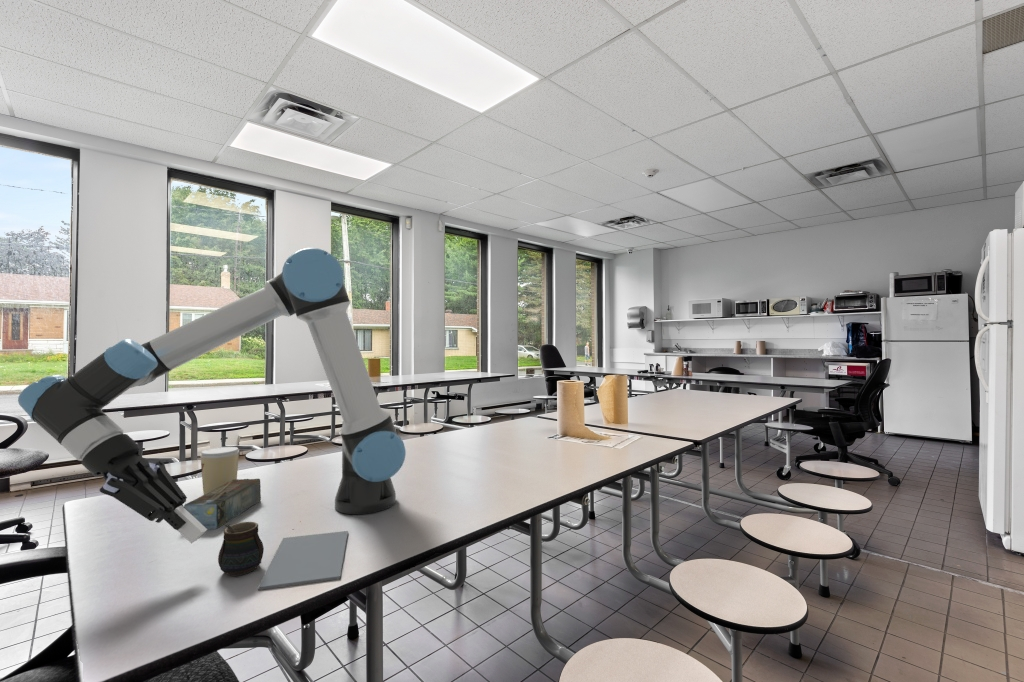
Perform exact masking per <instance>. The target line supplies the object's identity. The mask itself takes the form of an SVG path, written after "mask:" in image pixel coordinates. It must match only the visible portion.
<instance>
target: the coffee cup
mask: <svg viewBox="0 0 1024 682" xmlns="http://www.w3.org/2000/svg"><path fill="white" fill-rule="evenodd" d="M239 454H240V449H239V448H238V447H237V446H220V447H219V446H218V447H213V448H207V449H204V450H201V452H200V454H199V455H200V456H199V458H200V469H201V480H202V481H201V482H202V490H203V491H202V492H203V495H205V494H207V493H209V492H211V491H213V490H214V489H216V488H218V487H220V486H222V485H224V484H226V483H227V482H229V481H231V480H233V479H238V472H239V471H238V468H239V456H240V455H239Z"/></svg>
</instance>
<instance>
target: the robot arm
mask: <svg viewBox="0 0 1024 682" xmlns="http://www.w3.org/2000/svg"><path fill="white" fill-rule="evenodd" d="M281 271H282V272H281V273H280V274H278V275H277V276H275V277H273V278H271V279H268V280H266V282H265V283H264V286H263V287H261V288H259V289H258V290H256V291H253V292H252V293H249V294H247V295H245V296H242V297H241V298H238V299H236V300H235V301H232V302H231V303H227V304H226V305H224V306H221V307H219V308H217V309H214V311H211V312H209V313H207V314H204V315H202V316H200V317H198V318H196V319H194V320H192V321H190V322H187V323H186V324H183V325H181V326H179V327H177V328H174V329H172V330H170V331H168V332H166V333H164V334H162V335H159V336H157V337H155V338H153V339H151V340H149V341H147V342H144V343H142V344H139V343H138V342H136V341H135V340H133V339H130V338H125V339H122V340H120V341H119V342H117V343H116V344H114V345H112V346H110V347H107V348H106V349H105V351H103V353H101V354H99V355H98V356H97V357H96V358H94V359H92V360H91V361H90V362H88V364H86V365H85V366H83V367H82V368H81V369H79V370H78V371H76V372H75V373H74V374H71V375H70V376H68V377H66V376H63V375H61V374H53V375H47V376H44V377H42V378H40V379H39V380H38V381H33V382H32V383H30V384H29V385H28V386H26V387H25V388H23V390H21V392H20V394H19V396H18V397H17V403H18V405H19V406H20V408H22V409H23V411H25V413H26V414H27V415H28V416H29V419H31V420H32V421H33V422H34V423H36V424H37V425H38V426H40V428H42V429H43V430H44V431H45V432H46V433H48V435H50V436H51V437H52V438H53V439H54V440H56V442H57V443H59V444H60V445H61V446H62V447H63V448H64V449H66V451H67V452H69V453H70V454H71V455H72V456H73V457H74V459H76V460H77V461H81V465H82V466H83V467H84V468H85V469H86V470H87V471H88V472H89V473H91V474H92V475H93V476H94V477H97V478H101V477H102V478H103V480H105V483H104V484H103V486H101V487H100V488H99V492H100V493H101V494H104V495H107V496H110V497H112V498H114V499H115V500H117V501H118V502H120V503H122V504H124V505H125V506H126V507H128V508H130V509H131V510H133V511H134V512H135V513H138V514H139V515H141V516H142V517H144V518H145V519H146V520H147V521H150V522H153V521H155V522H156V523H158V524H159V523H161V522H162V521H163V520H164V522H166V523H167V524H169V525H170V526H171V528H173V529H174V530H175V531H177V532H178V533H180V534H181V535H182V536H183V537H184V539H186V540H187V541H188V542H189V543H190V544H193V543H195V542H196V541H197V540H198V539H200V538H201V536H202V535H203V534H204V533H206V532H207V530H208V529H206V528H205V527H204V526H203V525H202V524H201V523H200V522H199V521H198V520H197V519H196V518H195V517H194V516H193V515H192V514H191V513H190V512H189V511H188V510H187V509H186V508H185V507H184V505H185V504H186V502H187V499H188V497H187V495H186V494H185V493H184V490H182V488H180V486H179V485H178V483H177V482H176V481H175V479H174V478H173V477H172V475H171V474H170V473H169V471H168V470H167V467H166V465H165V462H164V461H162V460H158V461H157V462H156V463H153V462H149V460H148V459H147V458H145V457H143V456H141V455H140V454H139V452H140V445H139V444H138V443H137V442H136V441H135V440H134V439H133V438H132V437H130V435H128V434H127V433H124V429H122V427H120V426H119V425H118V424H117V423H116V422H115V421H114V420H112V419H111V418H110V417H109V416H108V415H107V414H106V413H104V411H103V408H105V407H107V406H108V405H109V404H111V403H112V402H113V401H114V400H116V399H117V398H118V397H119V396H121V395H122V394H124V393H125V392H126V391H128V390H129V389H131V388H132V389H133V388H135V387H141V386H145V385H148V384H149V383H151V382H152V383H153V382H154V381H155V380H156V379H157V378H159V377H162V376H163V375H165V374H167V373H169V372H171V371H173V370H175V369H177V368H180V367H181V366H183V365H185V364H187V363H189V362H191V361H193V360H195V359H197V358H199V357H201V356H203V355H205V354H207V353H209V352H212V351H213V350H215V349H216V348H219V347H221V346H223V345H225V344H227V343H229V342H231V341H233V340H235V339H237V338H239V337H241V336H243V335H245V334H247V333H249V332H251V331H253V330H255V329H257V328H259V327H261V326H263V325H266V324H267V323H270V322H271V321H273V320H275V319H278V318H279V317H282V316H283V317H291V316H293V315H296V318H297V319H299V320H300V321H303V322H305V323H306V324H307V326H308V327H307V328H308V329H309V332H310V334H311V337H312V340H313V343H314V345H315V348H316V351H317V354H318V356H319V359H320V361H321V364H322V367H323V370H324V372H325V374H326V375H325V376H326V379H327V381H328V382H329V385H330V386H329V387H330V389H331V392H332V394H333V396H334V399H335V402H336V404H337V407H338V409H339V413H340V416H341V418H342V425H341V428H340V431H339V433H340V437H341V439H342V440H341V442H342V443H341V452H342V453H341V455H342V456H341V468H342V469H341V471H342V472H341V473H342V474H341V479H340V482H339V486H338V488H337V492H336V495H335V498H334V510H335V511H336V512H339V513H341V514H346V515H347V514H349V515H364V514H365V515H367V514H373V513H377V512H381V511H384V510H387V509H389V508H391V507H392V506H394V505H395V504H396V501H397V499H396V498H397V496H396V495H397V494H396V490H395V486H394V484H393V481H392V477H394V476H396V474H397V473H398V472H399V471H400V470H401V468H402V467H403V465H404V463H405V459H406V455H407V454H406V452H407V451H406V447H405V443H404V441H403V439H402V438H401V437H400V436H399V435H398V433H397V430H396V427H395V425H394V422H393V420H392V416H391V414H390V412H388V411H386V410H384V409H382V408H381V405H380V403H379V400H378V398H377V394H376V391H375V389H374V386H373V384H372V380H371V378H370V374H369V371H368V368H367V367H366V363H365V361H364V358H363V355H362V352H361V350H360V347H359V344H358V341H357V338H356V336H355V332H354V329H353V327H352V325H351V321H350V319H349V316H348V313H347V310H348V308H349V306H350V304H351V301H350V298H349V295H348V291H347V289H346V287H345V284H344V282H345V281H344V279H345V276H344V270H343V268H342V265H341V264H340V261H338V259H337V258H336V257H335V256H334V255H333V254H331V253H330V252H328V251H327V250H325V249H320V248H315V247H306V248H303V249H302V248H301V249H300V250H296V251H295V252H294V253H293V254H291V255H289V257H287V259H286V261H285V262H284V264H283V266H282V270H281Z"/></svg>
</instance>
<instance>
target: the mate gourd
mask: <svg viewBox="0 0 1024 682" xmlns="http://www.w3.org/2000/svg"><path fill="white" fill-rule="evenodd" d="M224 526H225V527H226V528H225V529H224V530H223V541H222V544H221V547H220V550H219V552H218V556H217V557H218V558H217V562H218V567H219V568H220V570H221V571H222V572H223V573H224V574H226V575H228V576H231V577H236V576H237V577H238V576H244V575H246V574H249V573H251V572H253V571H254V570H256V569H257V568H258V567H259V566H260V565H261V564H262V559H263V556H264V552H265V551H264V544H263V541H262V540H261V538H260V535H259V524H258V523H257V522H254V521H242V522H238V523H234V524H231V525H230V524H224Z"/></svg>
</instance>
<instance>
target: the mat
mask: <svg viewBox="0 0 1024 682" xmlns="http://www.w3.org/2000/svg"><path fill="white" fill-rule="evenodd" d="M348 534H349V530H344V531H343V530H342V531H341V530H340V531H335V532H334V531H333V532H325V533H317V534H307V535H298V536H290V537H289V536H288V537H282V539H281V542H280V544H279V545H278V548H277V549H276V551H275V554H274V555H273V557H272V559H271V561H270V564H269V565H268V567H267V569H266V571H265V574H263V577H262V578H261V581H260V583H259V585H258V588H257V589H258V591H261V590H262V591H263V590H269V589H276V588H283V587H291V586H297V585H298V586H299V585H307V584H313V583H319V582H326V581H334V580H335V581H336V580H340V579H341V576H342V569H343V563H344V556H345V552H346V546H347V539H348Z"/></svg>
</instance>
